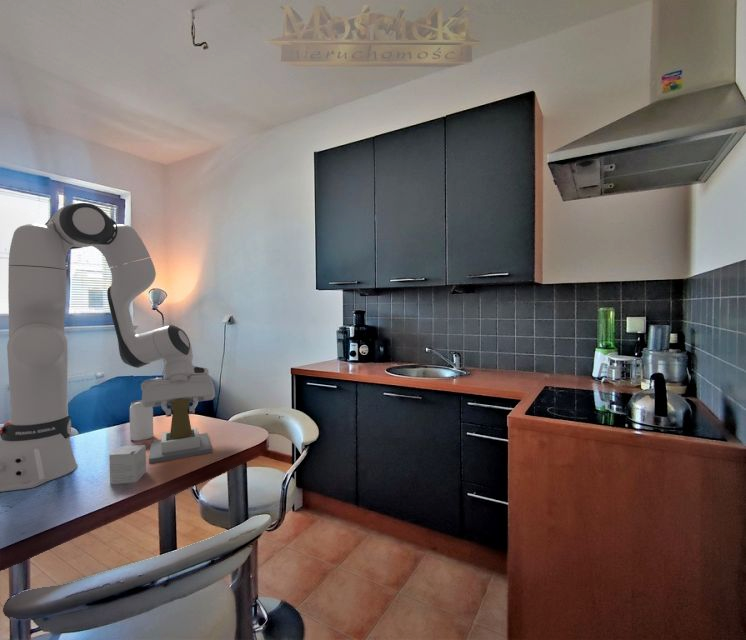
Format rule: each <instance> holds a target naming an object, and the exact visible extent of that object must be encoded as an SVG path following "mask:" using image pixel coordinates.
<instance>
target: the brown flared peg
mask: <svg viewBox="0 0 746 640" xmlns="http://www.w3.org/2000/svg"><path fill="white" fill-rule="evenodd" d="M190 403H191V402H189V401H188V400H187V399H177V400H174V401H172V403H171V405H169V406H170V409H171V412H172V413H171V423H170V424H171V425H170V431H169V432H170V438H171V439H182V438H186V437H189V436H191V435H192V430H191V429H192V425H191V420H190V414H189V406H191V404H190Z"/></svg>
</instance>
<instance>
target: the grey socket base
mask: <svg viewBox="0 0 746 640" xmlns="http://www.w3.org/2000/svg"><path fill="white" fill-rule="evenodd" d="M191 430H192V435H191V436H189V437H186V438H182V439H171V438H170V431H166V432H161V439H157V440H151V442H150V447H149V448H150V449H149V453H148V454H149V455H148V456H149V457H148V464H153V463H158V462H159V463H160V462H166V461H171V460H176V459H177V458H178V459H182V458H189V457H193V456H199V455H200V456H201V455H205V454H212V453H213V447H212V445H211V441H210V438H209V435H208V432H204V433H203V432H202V433H199V428H198V427H193V428H191Z"/></svg>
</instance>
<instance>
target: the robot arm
mask: <svg viewBox="0 0 746 640" xmlns="http://www.w3.org/2000/svg"><path fill="white" fill-rule="evenodd" d="M87 247H93V248H95V249H97V250H98V251H99V252H100V253H101V254H102V255H103V257H104V259H105V261H106V264H107V265H108V266H107V267H108V268H109V270H110V273H111V279H112V280H111V285H110V286H109V287H108V288H107V290H106V292H107V293H106V294H107V302H108V306H109V312H110V315H111V318H112V322H113V326H114V330H115V334H116V339H117V345H118V353H119V355H120V359H121V360H122V362H123V363H124V364H125V365H128V366H130V367H133V368H136V369H137V368H139V369H140V368H141V367H144V366H146V365H149V364H151V363H153V362H157V361H161V360H162V361H163V363H164V366H163V370H162V371H163V372H162V373H163V377H156V378H148V379H146V380H144V381H143V382H141V384H140V390H141V391H142V395H141V400H142V405H143V406H144V407H153V408H154V407H161V409H162V411H164V413H165V417H166V418H167V417H169V418H170V417H172V410H171V408H168V406H170V405H171V403H172V401H174V400H177V399H187V400H188V401H189V403H192V405H190V406H189V409H188V413H189V415H191V414H192V415H193V414H195V413H196V412H195V411H196V410H195V409H196V407H197V406H198V403H199V402H204V401H205V402H206V401H212V400H213V399H214V398H215V397H216V390H215V385H214V380H213V379H212V377H211V376H210V374H209V369H208V368H207V367H201V366H196V365H194V364H193V349H192V345H191V341H190V339H189V336H188V335H187V333H186V332H185V331H184V330H183V329H182V328H179V327H178V326H176V325H173V324H170V325H166V326H165V325H164V326H161V327H157V328H155V329H152V330H149V331H144V332H142V333H136V332H135V329H134V323H133V321H132V316H131V312H130V306H131V303H132V302H133V300H135V299H136V298H137V297H138V296H139V295H141V294H142V293H144V292H145V291H146V290H147V289H149V288H150V287H151V285H153V283H154V282H155V279H156V274H157V273H156V268H155V265H154V262H153V259H152V257H151V255H150V253H149V251H148V248H147V247H146V245H145V244H144V242H143V240H142V238H141V237H140V235H139V234H138V232H137V231H136V230H135V229H134V227H132V226H130V225H127V224H123V223H122V224H120V223H119V224H118V223H117V222H116V221H115V220H113V219H112V218H111V217H110V216H109V215H108V213H106V212H105V211H104V210H103V209H102V208H100V207H99V206H97V205H95V204H93V203H90V202H85V201H84V202H83V201H77V202H71V203H69V204H67V205H65V206H63V207H60V208H59V209H58V210H57V211H55V213H54V214H52V216H50V217H49V219H48V220H47V221H46V222H45V224H39V223H30V224H29V223H28V224H24V225H20V226H18V227H17V228H16V229H15V230H14V232H13V235H12V239H11V243H10V245H9V253H8V281H7V283H8V284H7V285H8V287H7V288H8V290H7V291H8V293H7V295H8V302H7V303H8V341H7V344H6V348H7V349H6V350H7V351H6V352H7V366H8V367H7V369H8V370H7V371H8V385H9V386H8V387H9V405H10V408H9V410H10V420H8V421H6V422H5V423H4V424H3V425H2V427H0V438H1V439H0V492H9V491H16V490H25V489H32V488H36V487H38V486H40V485H42V484H45V483H46V482H49V481H52V480H55V479H58V478H60V477H64V476H65V475H67V474H69V473H71V472H73V471H74V470H76V469H77V468H78V463H77V461H76V458H75V455H74V452H73V448H72V443H71V437H70V436H71V435H72V420H71V416H70V415H71V414H69V412H68V410H69V406H68V340H67V338H66V336H65V323H66V321H65V320H66V306H67V305H66V302H67V257H68V252H69V251H70V250H75V249H76V250H77V249H82V248H87Z"/></svg>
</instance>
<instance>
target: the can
mask: <svg viewBox="0 0 746 640" xmlns="http://www.w3.org/2000/svg"><path fill="white" fill-rule="evenodd" d="M153 408H154V407H144V406H143V405H142V399H139V400H134V401H131V402H130V407H129V431H130V432H129V435H130V440H131V441H133V442H141V441H142V442H143V441H145V440H146V439H147V440H149V438H150V439H151V438H152V437H153V436H154V409H153Z"/></svg>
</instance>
